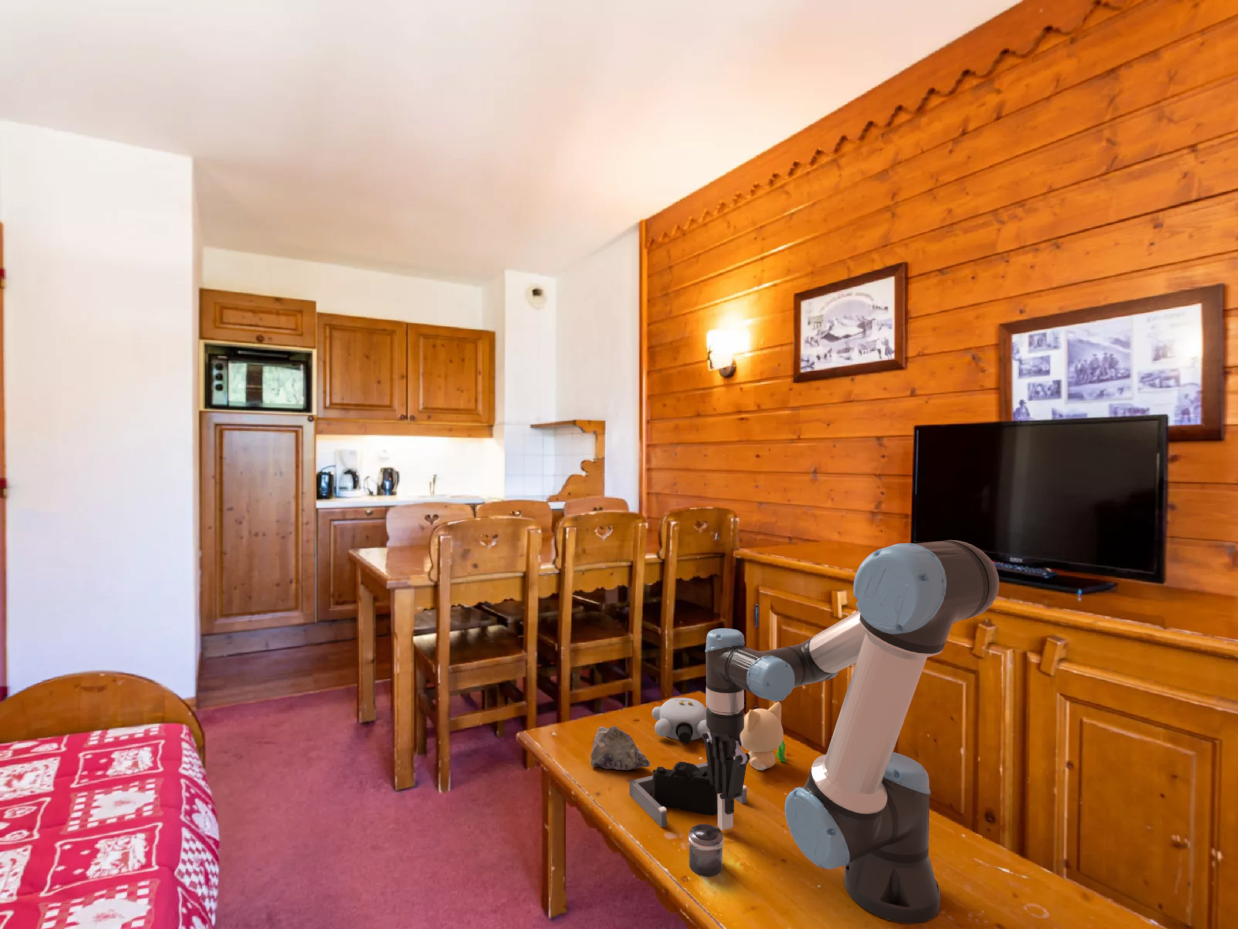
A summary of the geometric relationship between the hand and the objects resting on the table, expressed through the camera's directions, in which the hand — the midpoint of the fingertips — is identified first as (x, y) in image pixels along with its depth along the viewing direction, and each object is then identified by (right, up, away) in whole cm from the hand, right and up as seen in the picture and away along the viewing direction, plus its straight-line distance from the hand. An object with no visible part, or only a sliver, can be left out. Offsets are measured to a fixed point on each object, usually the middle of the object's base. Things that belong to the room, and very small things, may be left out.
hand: (725, 826), depth 126 cm
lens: (-5, -1, -11) cm, 12 cm away
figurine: (-4, -1, +46) cm, 46 cm away
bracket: (-6, -1, +12) cm, 14 cm away
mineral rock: (-21, -1, +26) cm, 34 cm away
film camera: (-6, -1, +12) cm, 14 cm away
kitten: (+14, -1, +28) cm, 31 cm away
